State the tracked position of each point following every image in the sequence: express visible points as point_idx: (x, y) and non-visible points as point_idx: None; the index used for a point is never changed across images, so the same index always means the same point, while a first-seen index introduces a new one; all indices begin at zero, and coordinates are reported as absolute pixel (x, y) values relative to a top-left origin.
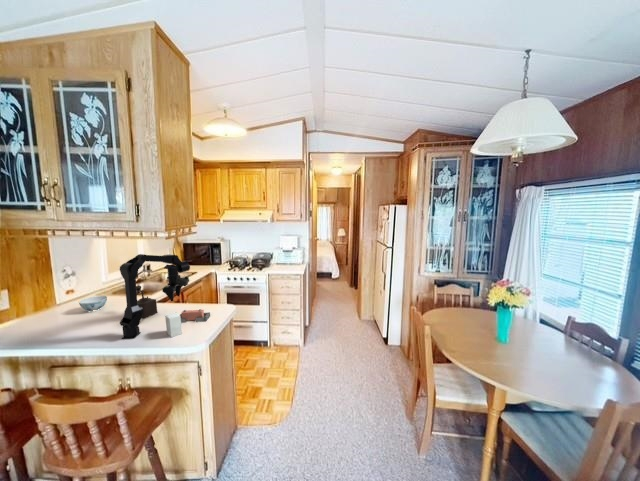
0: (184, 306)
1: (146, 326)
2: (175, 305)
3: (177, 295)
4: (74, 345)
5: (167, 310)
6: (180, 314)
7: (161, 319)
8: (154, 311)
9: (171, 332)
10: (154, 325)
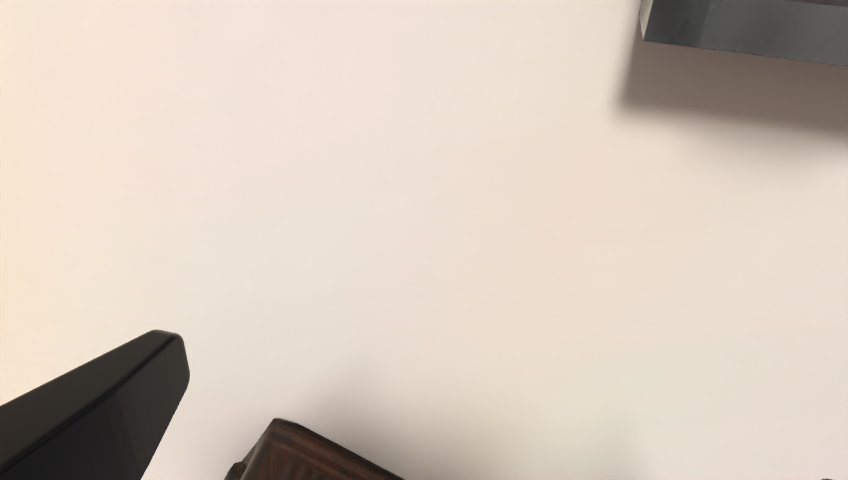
0: (15, 104)
1: (815, 472)
2: (2, 253)
3: (169, 410)
4: None
5: (200, 320)
6: (677, 30)
7: (579, 338)
8: (306, 467)
9: None
10: (839, 390)
